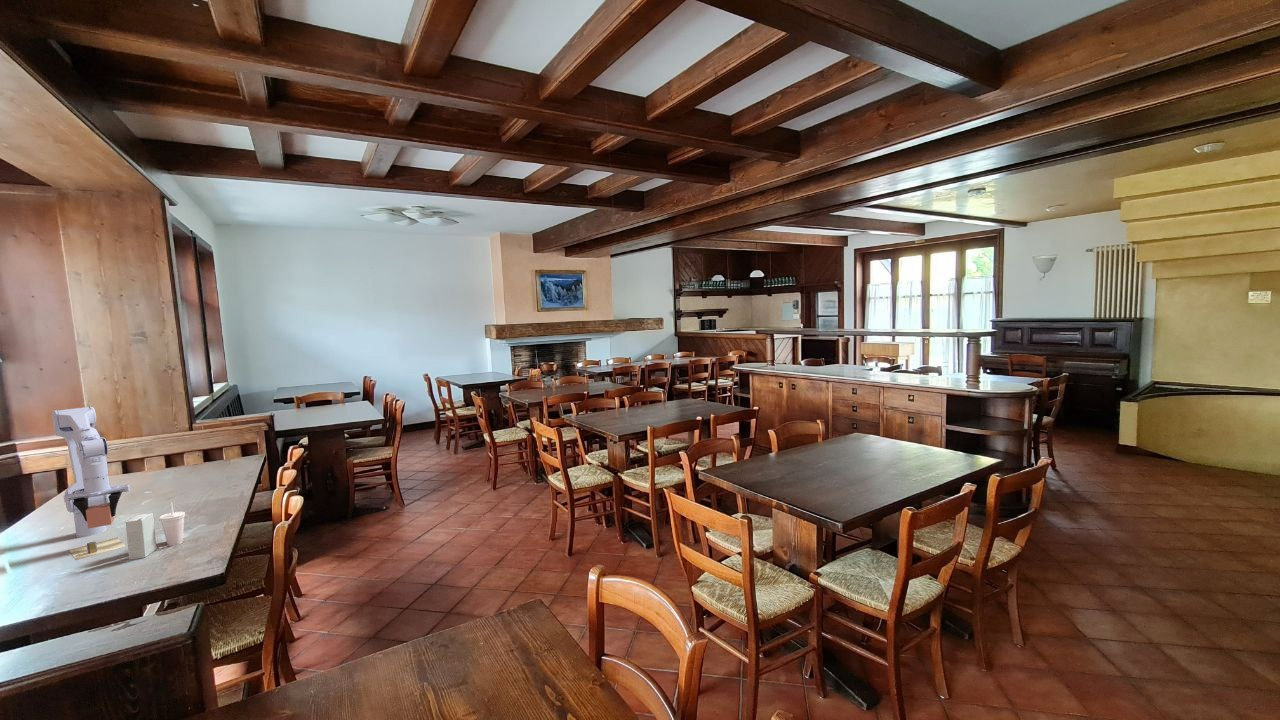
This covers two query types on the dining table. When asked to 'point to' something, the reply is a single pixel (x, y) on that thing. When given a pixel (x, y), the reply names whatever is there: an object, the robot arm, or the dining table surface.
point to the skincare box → (141, 536)
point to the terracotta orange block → (99, 515)
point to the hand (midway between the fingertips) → (100, 517)
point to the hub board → (100, 549)
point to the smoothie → (173, 526)
